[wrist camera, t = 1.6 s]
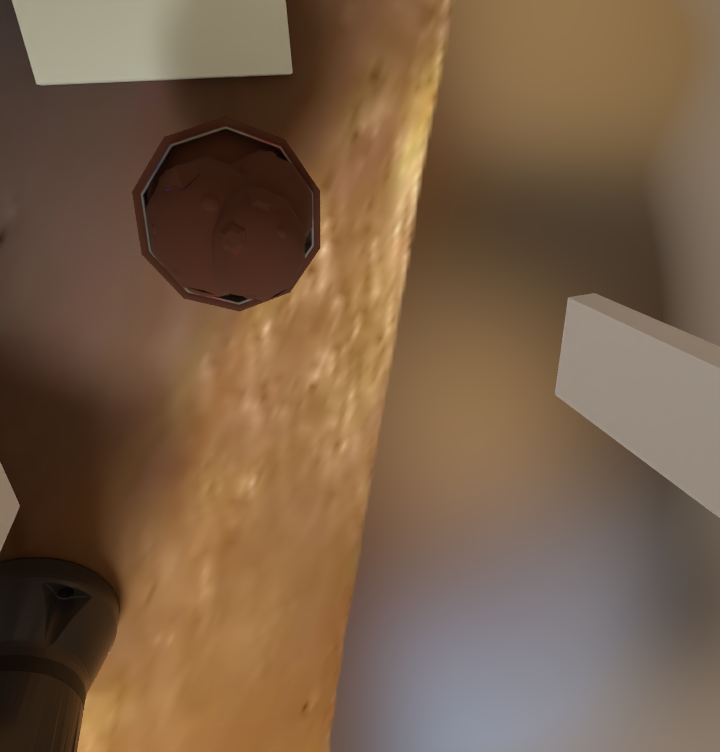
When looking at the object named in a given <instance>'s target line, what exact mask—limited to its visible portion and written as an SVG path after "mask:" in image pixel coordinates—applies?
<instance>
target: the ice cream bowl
mask: <svg viewBox="0 0 720 752" xmlns="http://www.w3.org/2000/svg"><path fill="white" fill-rule="evenodd" d="M132 194H133V200H134V207H135V213H136V220H137V226H138V233H139V239H140V246H141V252H142V255H143V256H144V257H145V258H146V259H147V260H148V261H149V262H150V263H151V264H152V265H153V266H154V267H155V269H156V270H157V271H158V272H159V273H160V274H161V275H162V276H163V277H164V278H165V279H166V280H167V281H168V282H169V283H170V284H171V285H172V286H173V287H174V288H175V289H176V291H177V292H178V293H179V294H180V295H181V296H182V297H183V298H184V299H189V300H193V301H197V302H202V303H206V304H210V305H215V306H219V307H223V308H227V309H232V310H236V311H242V310H244V309H247V308H250V307H252V306H255V305H258V304H260V303H263V302H266V301H268V300H271V299H273V298H276V297H279V296H281V295H284V294H287V293H289V292H290V291H291V290H292V289H293V287H294V286H295V284H296V283H297V281H298V280H299V278H300V277H301V275H302V274H303V272H304V271H305V269H306V268H307V267H308V265H309V264H310V262H311V261H312V259H313V258H314V256H315V255H316V253H317V252H318V250H319V249H320V190H319V189H318V187H317V186H316V184H315V183H314V181H313V180H312V179H311V177H310V176H309V174H308V173H307V171H306V170H305V168H304V167H303V165H302V164H301V162H300V161H299V159H298V158H297V157H296V155H295V154H294V152H293V151H292V149H291V148H290V146H289V145H288V143H287V142H286V140H284V139H282V138H279V137H276V136H274V135H271V134H268V133H266V132H263V131H260V130H258V129H255V128H252V127H250V126H247V125H244V124H242V123H239V122H236V121H234V120H231V119H228V118H226V117H224V118H221V119H218V120H215V121H212V122H209V123H206V124H203V125H200V126H197V127H193V128H190V129H187V130H184V131H181V132H178V133H175V134H172V135H169V136H166V137H164V138H163V140H162V142H161V143H160V145H159V147H158V149H157V150H156V152H155V154H154V155H153V157H152V159H151V161H150V162H149V164H148V166H147V167H146V169H145V171H144V172H143V174H142V176H141V178H140V179H139V181H138V183H137V184H136V186H135V188H134V190H133V191H132Z"/></svg>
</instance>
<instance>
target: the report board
mask: <svg viewBox="0 0 720 752" xmlns="http://www.w3.org/2000/svg"><path fill="white" fill-rule="evenodd" d="M12 2H13V6H14V9H15V12H16V16H17V19H18V23H19V26H20V29H21V33H22V36H23V40H24V43H25V46H26V50H27V53H28V57H29V60H30V63H31V67H32V70H33V74H34V77H35V81H36V84H38V85H61V84H84V83H107V82H131V81H154V80H177V79H200V78H224V77H247V76H270V75H290V74H292V73H293V71H292V60H291V50H290V40H289V30H288V20H287V9H286V0H12Z"/></svg>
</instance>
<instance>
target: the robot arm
mask: <svg viewBox="0 0 720 752" xmlns="http://www.w3.org/2000/svg"><path fill="white" fill-rule="evenodd" d="M555 395H556V396H557V397H559V398H560V399H561V400H563V401H564V402H566V403H567V404H568V405H570V406H571V407H572V408H573V409H575V410H576V411H578V412H579V413H580V414H581V415H583V416H584V417H585V418H587V419H588V420H590V421H591V422H592V423H594V424H595V425H596V426H598V427H599V428H600V429H602V430H603V431H604V432H606V433H607V434H608V435H610V436H611V437H612V438H614V439H615V440H616V441H618V442H619V443H621V444H622V445H623V446H624V447H626V448H627V449H628V450H630V451H631V452H632V453H634V454H635V455H636V456H638V457H639V458H640V459H642V460H643V461H644V462H646V463H647V464H648V465H650V466H651V467H652V468H654V469H655V470H656V471H658V472H659V473H660V474H662V475H663V476H664V477H666V478H667V479H668V480H670V481H671V482H672V483H674V484H675V485H676V486H678V487H679V488H680V489H682V490H683V491H684V492H686V493H687V494H688V495H690V496H691V497H692V498H694V499H695V500H696V501H698V502H699V503H700V504H702V505H703V506H704V507H706V508H707V509H708V510H710V511H711V512H713V513H714V514H715V515H717V516H718V517H719V518H720V347H719V346H716V345H714V344H712V343H709V342H707V341H705V340H702V339H700V338H698V337H695V336H693V335H691V334H688V333H686V332H684V331H681V330H679V329H676V328H674V327H672V326H670V325H667V324H665V323H662V322H660V321H658V320H656V319H653V318H651V317H649V316H646V315H644V314H642V313H639V312H637V311H635V310H632V309H630V308H627V307H625V306H623V305H621V304H618V303H616V302H614V301H611V300H609V299H607V298H604V297H602V296H600V295H597V294H595V293H594V294H587V295H582V296H575V297H569V298H568V303H567V310H566V318H565V324H564V332H563V339H562V347H561V354H560V361H559V369H558V376H557V383H556V390H555ZM19 507H20V505H19V503H18V500H17V498H16V496H15V494H14V491H13V489H12V487H11V485H10V482H9V480H8V478H7V476H6V474H5V471H4V469H3V467H2V465H1V462H0V551H1V549H2V547H3V544H4V542H5V540H6V537H7V535H8V533H9V530H10V528H11V526H12V523H13V521H14V519H15V516H16V514H17V512H18V509H19ZM118 619H119V604H118V600H117V597H116V595H115V593H114V591H113V589H112V588H111V587H110V585H109V584H108V583H107V582H106V581H105V580H104V579H103V578H101V577H100V576H99V575H97V574H96V573H94V572H92V571H91V570H89V569H87V568H85V567H82V566H80V565H77V564H74V563H70V562H66V561H62V560H55V559H46V558H27V559H17V560H11V561H6V562H2V563H0V752H77V747H78V741H79V735H80V729H81V723H82V716H83V710H84V704H85V699H86V694H87V692H88V690H89V689H90V687H91V685H92V683H93V681H94V679H95V678H96V676H97V674H98V672H99V670H100V668H101V666H102V664H103V663H104V661H105V659H106V657H107V655H108V653H109V652H110V650H111V648H112V646H113V643H114V640H115V637H116V633H117V626H118Z"/></svg>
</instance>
